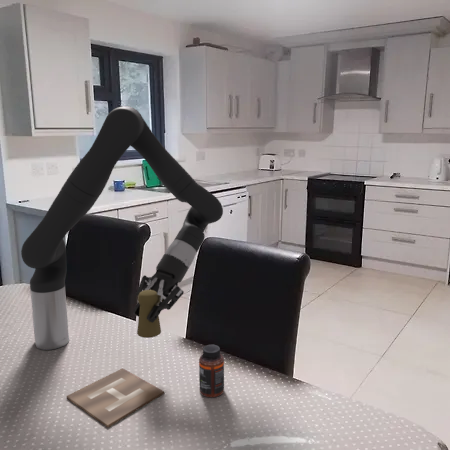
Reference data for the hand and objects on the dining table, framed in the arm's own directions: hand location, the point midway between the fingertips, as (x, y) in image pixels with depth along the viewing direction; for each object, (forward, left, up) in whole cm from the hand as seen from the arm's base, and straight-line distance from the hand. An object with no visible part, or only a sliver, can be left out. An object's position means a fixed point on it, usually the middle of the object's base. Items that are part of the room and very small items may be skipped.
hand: (142, 317), depth 108 cm
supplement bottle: (+18, +6, -16) cm, 25 cm away
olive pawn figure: (0, +2, -5) cm, 5 cm away
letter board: (+2, -10, -16) cm, 19 cm away
